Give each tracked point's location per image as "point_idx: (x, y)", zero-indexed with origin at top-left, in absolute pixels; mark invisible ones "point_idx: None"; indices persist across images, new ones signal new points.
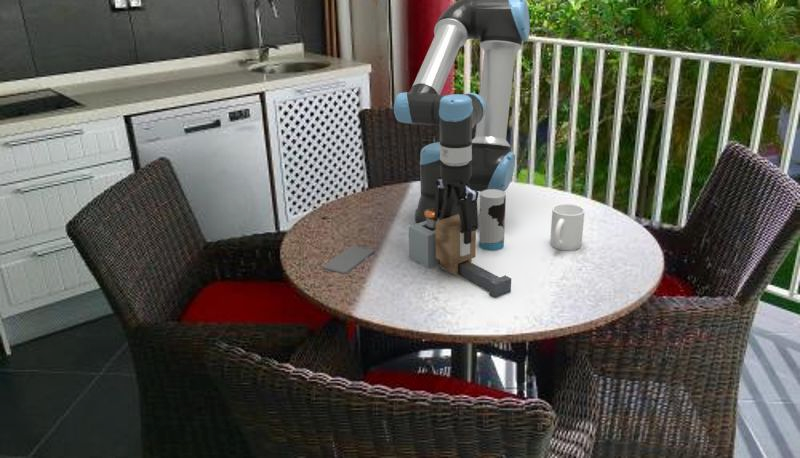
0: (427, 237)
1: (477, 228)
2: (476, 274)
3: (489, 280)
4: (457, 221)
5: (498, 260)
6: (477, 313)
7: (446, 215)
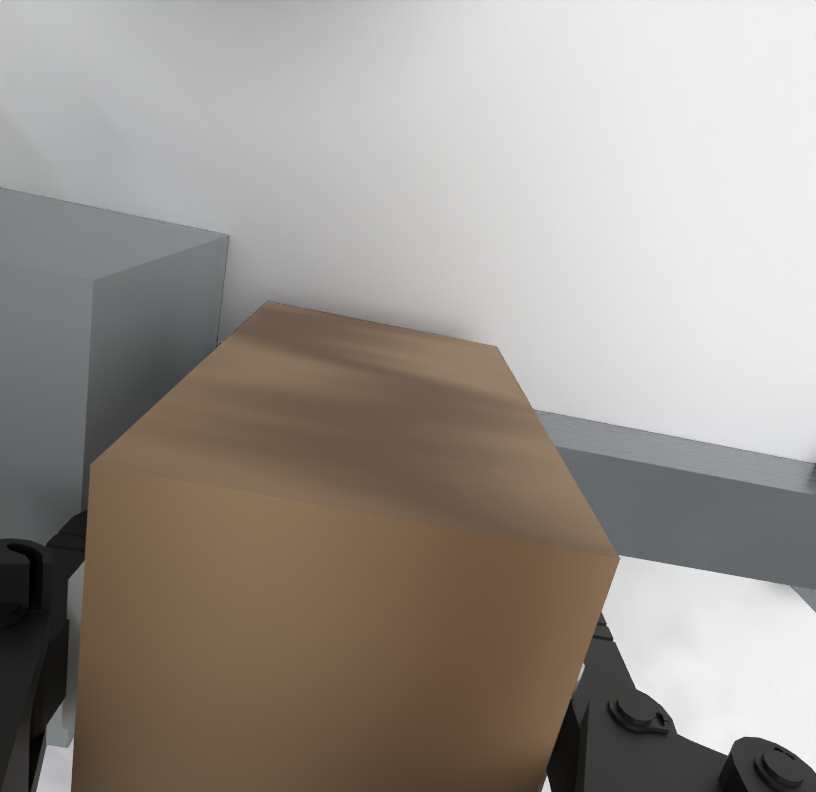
0: (73, 731)
1: (809, 782)
2: (657, 558)
3: (800, 585)
4: (346, 780)
5: (553, 35)
6: (804, 755)
7: (26, 789)
